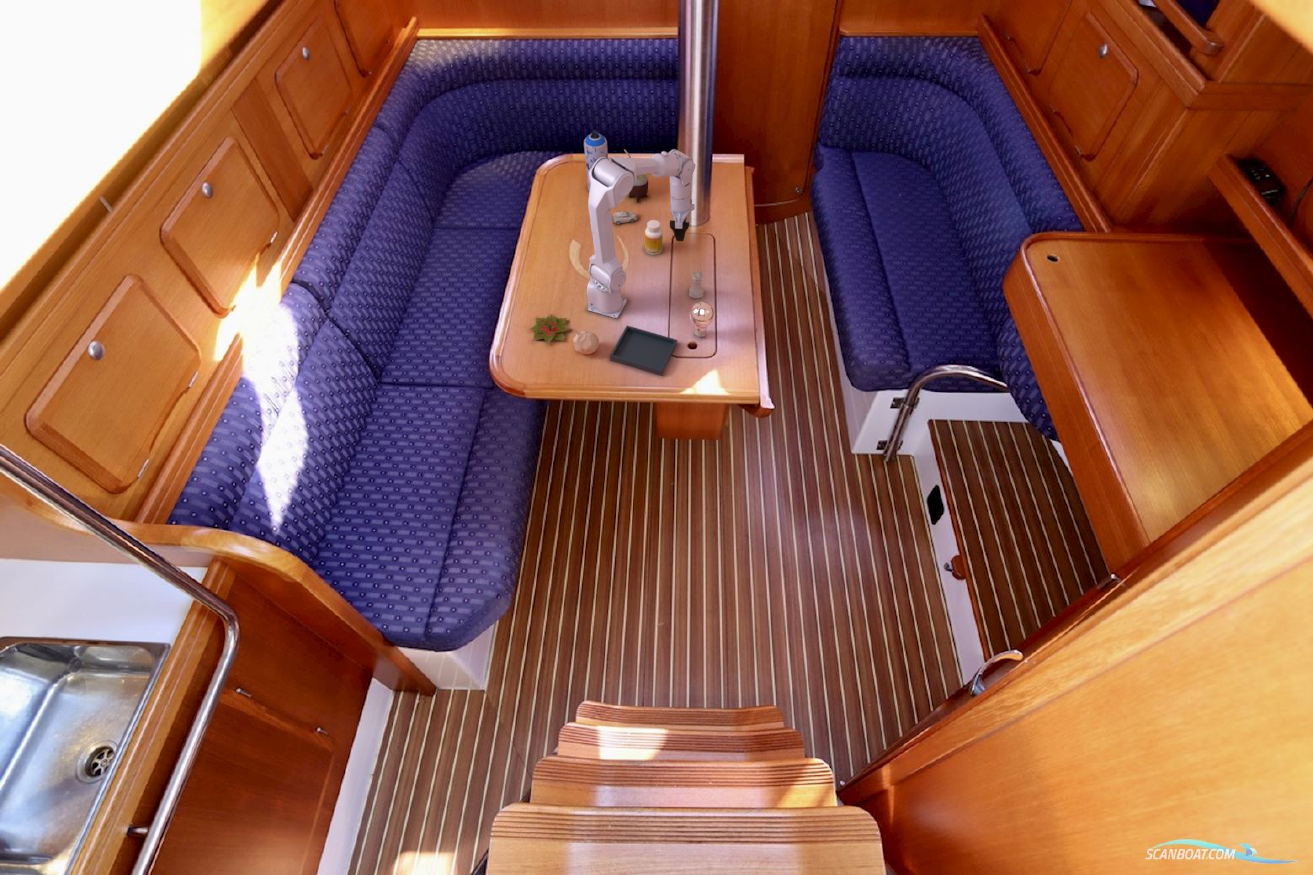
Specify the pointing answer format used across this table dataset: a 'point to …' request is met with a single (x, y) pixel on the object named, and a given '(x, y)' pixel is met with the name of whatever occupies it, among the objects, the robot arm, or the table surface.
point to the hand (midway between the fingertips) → (681, 231)
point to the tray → (643, 350)
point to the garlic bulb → (585, 342)
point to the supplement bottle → (653, 237)
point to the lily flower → (549, 328)
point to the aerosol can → (594, 150)
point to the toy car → (624, 217)
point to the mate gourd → (639, 186)
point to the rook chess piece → (696, 285)
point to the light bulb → (701, 317)
